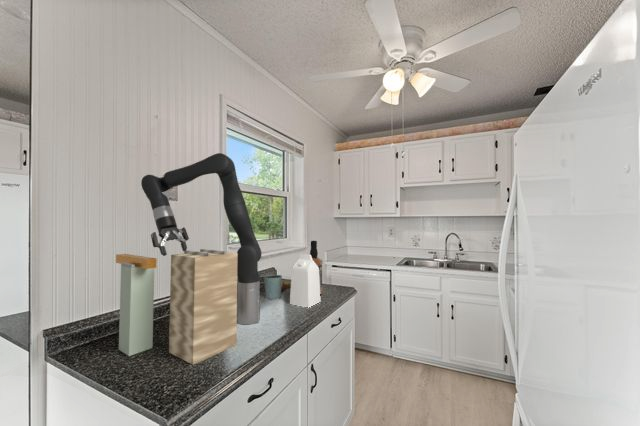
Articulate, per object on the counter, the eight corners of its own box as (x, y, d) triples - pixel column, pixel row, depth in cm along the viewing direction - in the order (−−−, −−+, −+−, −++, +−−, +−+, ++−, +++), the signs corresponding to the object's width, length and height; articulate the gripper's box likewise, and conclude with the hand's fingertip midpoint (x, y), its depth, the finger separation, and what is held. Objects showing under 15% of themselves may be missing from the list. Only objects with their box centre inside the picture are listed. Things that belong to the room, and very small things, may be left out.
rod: (115, 262, 99) (116, 254, 99) (125, 261, 102) (125, 253, 102) (146, 268, 86) (146, 259, 86) (156, 267, 88) (156, 258, 88)
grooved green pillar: (118, 349, 91) (121, 262, 92) (141, 342, 97) (143, 260, 98) (128, 356, 86) (131, 265, 87) (152, 347, 92) (154, 262, 93)
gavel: (283, 290, 159) (268, 289, 162) (284, 298, 160) (268, 296, 162) (296, 280, 180) (282, 279, 182) (296, 287, 180) (282, 286, 182)
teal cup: (280, 299, 150) (280, 278, 150) (262, 299, 150) (262, 278, 151) (283, 295, 160) (283, 274, 161) (266, 295, 160) (266, 274, 161)
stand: (168, 352, 89) (171, 251, 90) (212, 335, 102) (213, 248, 103) (193, 364, 81) (195, 254, 82) (236, 345, 94) (237, 250, 96)
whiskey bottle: (320, 296, 157) (320, 241, 158) (303, 295, 159) (303, 241, 160) (323, 292, 167) (323, 240, 168) (307, 291, 169) (308, 240, 170)
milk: (320, 302, 145) (320, 254, 146) (308, 308, 135) (308, 256, 136) (302, 299, 151) (302, 252, 152) (289, 304, 142) (289, 254, 143)
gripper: (177, 219, 127) (187, 251, 125) (143, 223, 115) (154, 259, 113) (184, 213, 122) (194, 247, 120) (150, 217, 111) (161, 254, 109)
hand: (175, 252), depth 117 cm, fingers open, 8 cm apart
